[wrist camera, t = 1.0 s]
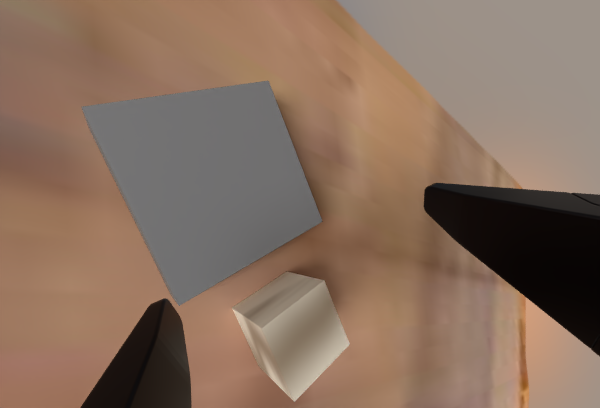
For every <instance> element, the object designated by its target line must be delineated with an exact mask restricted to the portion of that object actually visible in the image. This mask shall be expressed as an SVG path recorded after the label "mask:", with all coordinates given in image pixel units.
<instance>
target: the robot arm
mask: <svg viewBox="0 0 600 408" xmlns="http://www.w3.org/2000/svg"><path fill="white" fill-rule="evenodd" d="M424 209H425V211H426V213H427V214H428V215H429V216H430V217H431V218H432V219H434V220H435V221H436V222H437V223H438V224H439V225H440V226H441V227H442V228H443V229H444V230H445V231H446V232H447V233H448V234H449V235H450V236H451V237H452V238H453V239H454V240H456V241H457V242H458V243H459V244H460V245H461V246H463V247H464V248H465V249H466V250H468V251H469V252H470V253H471V254H473V255H474V256H475V257H476V258H478V259H479V260H480V261H481V262H483V263H484V264H485V265H486V266H488V267H489V268H490V269H491V270H493V271H494V272H495V273H496V274H498V275H499V276H500V277H501V278H503V279H504V280H505V281H506V282H508V283H509V284H510V285H511V286H513V287H514V288H515V289H516V290H518V291H519V292H520V293H521V294H523V295H524V296H525V297H526V298H528V299H529V300H530V301H532V302H533V303H534V304H535V305H537V306H538V307H539V308H540V309H542V310H543V311H544V312H545V313H547V314H548V315H549V316H550V317H552V318H553V319H554V320H555V321H557V322H558V323H559V324H560V325H562V326H563V327H564V328H565V329H567V330H568V331H569V332H570V333H572V334H573V335H574V336H576V337H577V338H578V339H579V340H580V341H582V342H583V343H584V344H585V345H587V346H588V347H589V348H591V349H592V350H593V351H594V352H595V353H596V354H597V355H599V356H600V195H594V194H581V193H571V194H570V193H567V192H553V191H539V190H526V189H513V188H499V187H486V186H472V185H459V184H445V183H435V184H432V185H430V186H428V187H426V189H425V193H424ZM81 408H191V381H190V371H189V364H188V357H187V351H186V344H185V337H184V331H183V324H182V320H181V318H180V316H179V314H178V313H177V311H176V310H175V309H174V307H173V306H172V304H171V303H170V301H169V300H168V299H162V300H159V301H157V302H155V303H152V304H151V305H150V306H149V307H148V308H147V310H146V311H145V313H144V314H143V316H142V317H141V319H140V320H139V322H138V323H137V325H136V326H135V328H134V329H133V331H132V332H131V333H130V335H129V336H128V338H127V339H126V341H125V342H124V344H123V345H122V347H121V348H120V350H119V351H118V353H117V354H116V356H115V357H114V359H113V360H112V362H111V363H110V365H109V366H108V368H107V369H106V370H105V372H104V373H103V375H102V376H101V378H100V379H99V381H98V382H97V384H96V385H95V387H94V388H93V390H92V391H91V393H90V394H89V396H88V397H87V399H86V400H85V402H84V403H83V405H82V406H81Z"/></svg>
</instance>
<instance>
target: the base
mask: <svg viewBox="0 0 600 408" xmlns="http://www.w3.org/2000/svg"><path fill="white" fill-rule="evenodd" d="M82 110H83V113H84V116H85V118H86V121H87V124H88V127H89V129H90V131H91V133H92V135H93V137H94V139H95V141H96V143H97V145H98V147H99V149H100V151H101V153H102V155H103V158H104V160H105V162H106V164H107V166H108V168H109V170H110V172H111V174H112V176H113V178H114V180H115V182H116V184H117V186H118V188H119V190H120V192H121V194H122V196H123V198H124V200H125V202H126V204H127V206H128V208H129V210H130V212H131V214H132V216H133V218H134V221H135V223H136V225H137V227H138V229H139V231H140V233H141V235H142V237H143V239H144V241H145V243H146V245H147V247H148V249H149V251H150V253H151V255H152V257H153V259H154V261H155V263H156V265H157V267H158V269H159V271H160V273H161V275H162V277H163V279H164V282H165V284H166V286H167V288H168V290H169V292H170V294H171V295H172V297H173V298H174V300H175V301H176V302H177V304H178V305H179V306H180V305H181V304H183V303H185V302H186V301H188V300H190V299H191V298H193V297H195V296H197V295H198V294H200V293H202V292H203V291H205V290H207V289H209V288H210V287H212V286H214V285H215V284H217V283H219V282H220V281H222V280H224V279H226V278H227V277H229V276H231V275H232V274H234V273H236V272H237V271H239V270H241V269H243V268H244V267H246V266H248V265H249V264H251V263H253V262H255V261H256V260H258V259H260V258H261V257H263V256H265V255H266V254H268V253H270V252H272V251H273V250H275V249H277V248H278V247H280V246H282V245H283V244H285V243H287V242H289V241H290V240H292V239H294V238H295V237H297V236H299V235H301V234H302V233H304V232H306V231H307V230H309V229H311V228H312V227H314V226H316V225H318V224H319V223H321V222H323V221H322V219H321V216H320V214H319V211H318V208H317V206H316V203H315V201H314V198H313V195H312V193H311V190H310V188H309V185H308V182H307V180H306V177H305V175H304V172H303V169H302V167H301V164H300V162H299V159H298V156H297V154H296V151H295V149H294V146H293V143H292V141H291V138H290V136H289V133H288V130H287V128H286V125H285V123H284V120H283V117H282V115H281V112H280V110H279V107H278V104H277V102H276V99H275V97H274V94H273V91H272V89H271V86H270V84H269V81H263V82H256V83H248V84H241V85H234V86H227V87H220V88H213V89H205V90H198V91H191V92H184V93H177V94H170V95H163V96H155V97H148V98H141V99H134V100H127V101H120V102H113V103H105V104H98V105H91V106H84V107H82Z"/></svg>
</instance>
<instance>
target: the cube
mask: <svg viewBox="0 0 600 408" xmlns="http://www.w3.org/2000/svg"><path fill="white" fill-rule="evenodd" d="M232 309H233V311H234V313H235V315H236V318H237V320H238V322H239V324H240V326H241V328H242V331H243V333H244V335H245V337H246V339H247V342H248V344H249V346H250V348H251V350H252V352H253V355H254V357H255V359H256V361H257V363H258V366H259V367H260V368H261V369H262V370H263V371H264V372H265V373H266V374H267V375H268V376H269V377H270V378H271V379H272V380H273V381H274V382H275V383H276V384H277V385H278V386H279V387H280V388H281V389H282V390H283V391H284V392H285V393H286V394H287V395H288V396H289V397H290V398H291V399H292V400H293V401H294V402H295V401H296V400H297V399H298V398H299V397H300V396H301V395H302V394H303V392H304V391H305V390H306V389H307V388H308V387H309V386H310V385H311V384H312V383H313V382H314V381H315V380H316V379H317V378H318V377H319V376H320V375H321V374H322V373H323V372H324V371H325V370H326V368H327V367H328V366H329V365H330V364H331V363H332V362H333V361H334V360H335V359H336V358H337V357H338V356H339V355H340V354H341V353H342V352H343V351H344V350H345V349H346V348H347V347H348V346H349V345H350V344H349V341H348V339H347V336H346V334H345V331H344V329H343V326H342V324H341V321H340V319H339V316H338V314H337V311H336V309H335V306H334V304H333V301H332V299H331V296H330V293H329V291H328V288H327V286H326V283H325V281H324V280H321V279H317V278H312V277H308V276H304V275H299V274H295V273H291V272H285V273H283V274H282V275H280V276H279V277H277V278H276V279H274V280H273V281H271V282H270V283H268V284H267V285H265V286H264V287H262V288H261V289H259V290H258V291H256V292H255V293H253V294H252V295H250V296H249V297H247V298H246V299H244V300H243V301H241V302H240V303H238V304H237V305H235V306H234V307H232Z"/></svg>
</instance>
